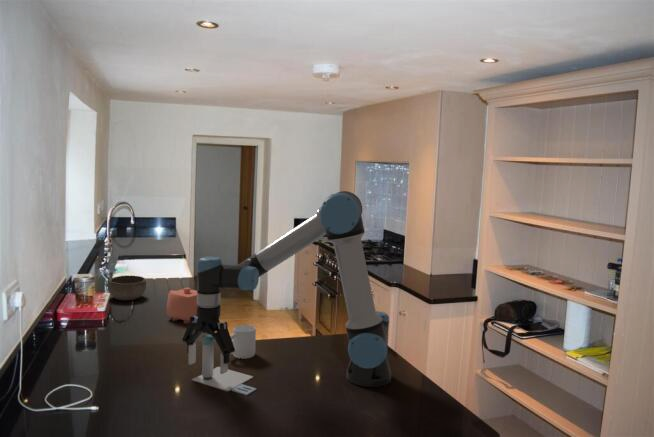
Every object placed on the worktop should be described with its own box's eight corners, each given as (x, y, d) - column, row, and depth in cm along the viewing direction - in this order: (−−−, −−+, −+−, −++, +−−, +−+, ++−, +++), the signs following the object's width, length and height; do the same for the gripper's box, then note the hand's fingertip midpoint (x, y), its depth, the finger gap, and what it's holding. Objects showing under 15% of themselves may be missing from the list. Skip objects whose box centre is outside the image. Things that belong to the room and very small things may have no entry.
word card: (256, 389, 167) (256, 388, 167) (246, 395, 163) (246, 394, 163) (241, 385, 170) (241, 383, 170) (231, 390, 166) (231, 389, 166)
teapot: (216, 320, 236) (216, 289, 234) (196, 327, 225) (196, 295, 223) (179, 311, 246) (180, 282, 245) (158, 318, 235) (159, 287, 234)
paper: (253, 377, 176) (253, 376, 176) (228, 391, 165) (228, 390, 165) (218, 367, 184) (218, 366, 184) (191, 380, 172) (191, 379, 172)
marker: (216, 377, 175) (216, 336, 173) (208, 381, 171) (208, 339, 170) (207, 374, 176) (207, 334, 175) (199, 378, 173) (199, 337, 171)
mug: (232, 363, 188) (233, 335, 187) (219, 356, 194) (220, 329, 192) (259, 355, 196) (260, 328, 195) (246, 349, 202) (247, 323, 201)
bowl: (138, 303, 257) (138, 283, 255) (102, 302, 257) (102, 282, 256) (151, 294, 274) (151, 275, 273) (116, 293, 274) (116, 274, 273)
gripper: (246, 308, 168) (245, 372, 171) (188, 296, 180) (187, 356, 182) (231, 314, 162) (230, 380, 164) (171, 300, 174) (171, 363, 176)
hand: (207, 368), depth 173 cm, fingers open, 13 cm apart
